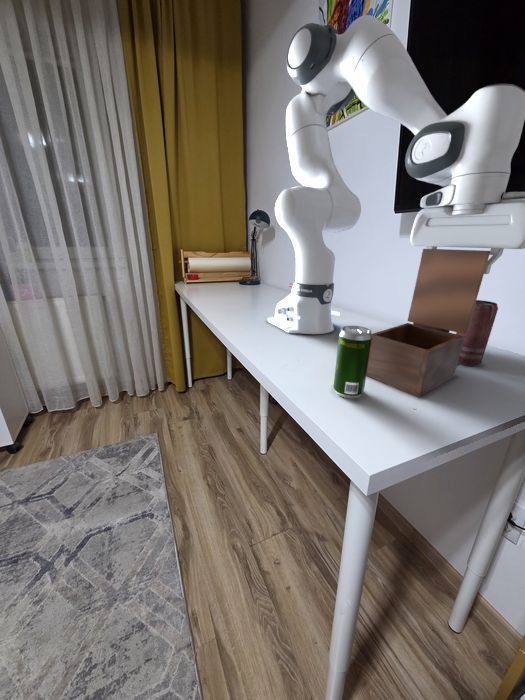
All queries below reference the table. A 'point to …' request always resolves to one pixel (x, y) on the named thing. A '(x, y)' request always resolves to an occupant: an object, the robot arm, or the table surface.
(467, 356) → the can
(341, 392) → the beer can
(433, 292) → the lid
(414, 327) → the chest
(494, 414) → the table surface
